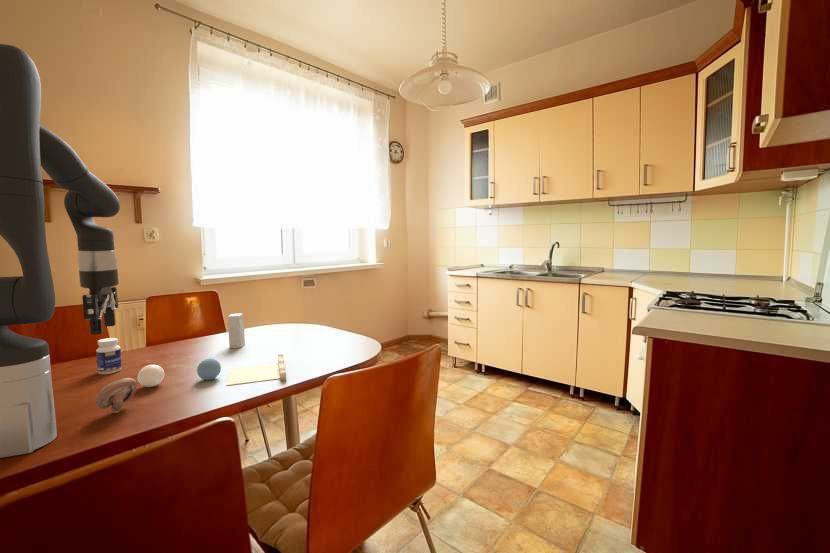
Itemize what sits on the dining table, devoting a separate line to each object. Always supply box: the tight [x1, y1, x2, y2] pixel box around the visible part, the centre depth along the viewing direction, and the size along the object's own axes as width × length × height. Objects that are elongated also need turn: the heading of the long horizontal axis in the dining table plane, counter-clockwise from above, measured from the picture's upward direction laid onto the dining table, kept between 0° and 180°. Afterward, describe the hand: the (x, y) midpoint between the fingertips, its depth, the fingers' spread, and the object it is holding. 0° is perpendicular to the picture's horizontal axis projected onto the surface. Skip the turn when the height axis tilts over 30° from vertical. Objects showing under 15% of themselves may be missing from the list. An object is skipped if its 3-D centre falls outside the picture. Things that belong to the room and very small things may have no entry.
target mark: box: [226, 362, 280, 387], centre depth 110 cm, size 14×14×1 cm
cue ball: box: [137, 364, 165, 388], centre depth 100 cm, size 6×6×6 cm
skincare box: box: [227, 312, 246, 349], centre depth 139 cm, size 6×4×12 cm
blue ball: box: [196, 358, 222, 381], centre depth 106 cm, size 6×6×6 cm
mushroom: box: [95, 377, 138, 414], centre depth 85 cm, size 8×6×8 cm
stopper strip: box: [277, 353, 287, 382], centre depth 113 cm, size 18×2×2 cm, turn 22°
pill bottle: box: [95, 337, 123, 375], centre depth 111 cm, size 6×6×10 cm
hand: (103, 329), depth 96 cm, fingers open, 8 cm apart
